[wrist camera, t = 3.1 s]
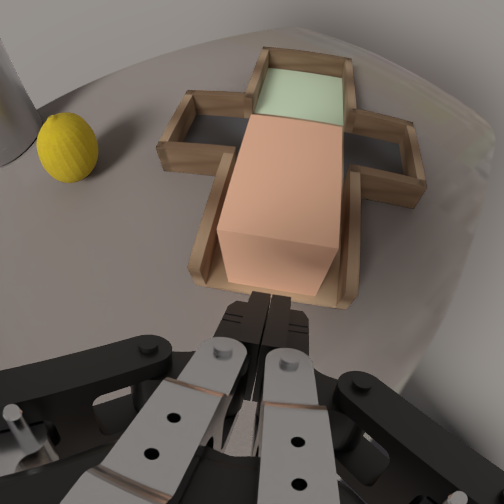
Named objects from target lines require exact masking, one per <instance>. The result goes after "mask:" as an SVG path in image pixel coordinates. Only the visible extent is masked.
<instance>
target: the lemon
mask: <svg viewBox="0 0 504 504" xmlns="http://www.w3.org/2000/svg"><path fill="white" fill-rule="evenodd" d="M37 151H38V155H39V158H40V161H41V163H42V165H43V167H44V168H45V170H46V171H47V172H48V173H49V174H50V175H51V176H52V177H53V178H55V179H56V180H59V181H61V182H64V183H73V182H78V181H80V180H82V179H84V178H85V177H86V176H88V175H89V174H90V173H91V171H92V170H93V168H94V167H95V165H96V162H97V159H98V143H97V140H96V137H95V134H94V132H93V130H92V129H91V127H90V126H89V125H88V124H87V123H86V121H85V120H84V119H82V118H81V117H80V116H78V115H76V114H74V113H59V114H56V115H51V116H49V117H48V118H47V121H46V122H45V123H44V124H43V126H42V127H41V129H40V131H39V134H38V137H37Z"/></svg>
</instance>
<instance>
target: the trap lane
mask: <svg viewBox="0 0 504 504" xmlns="http://www.w3.org/2000/svg"><path fill="white" fill-rule="evenodd" d="M268 68H274V69H283V70H292V71H300V72H307V73H314V74H320V75H326V76H332V77H338V78H342V92H343V126H342V125H337V124H331V123H326V122H320V121H314V120H307V119H300V118H293V117H286V116H278V115H270V114H261V113H254V112H255V109H256V106H257V102H258V99H259V96H260V93H261V90H262V86H263V83H264V80H265V77H266V74H267V71H268ZM251 114H253V115H262V116H271V117H279V118H287V119H294V120H301V121H308V122H314V123H321V124H326V125H332V126H338V127H342V185H341V213H340V233H339V249H338V251H337V253H336V255H335V257H334V259H333V261H332V264H331V266H330V268H329V270H328V272H327V274H326V276H325V278H324V280H323V282H322V284H321V286H320V288H319V290H318V292H317V294H316V296H311V295H304V294H298V293H292V292H285V291H279V290H273V289H267V288H261V287H255V286H249V285H243V284H237V283H232V282H228V278H227V274H226V269H225V265H224V261H223V256H222V252H221V247H220V243H219V238H218V234H217V226H218V223H219V219H220V215H221V212H222V208H223V205H224V201H225V198H226V195H227V191H228V188H229V184H230V181H231V177H232V174H233V171H234V167H235V164H236V161H237V157H238V154H239V151H240V148H241V144H242V141H243V138H244V135H245V131H246V128H247V125H248V122H249V119H250V116H251ZM156 150H157V153H158V156H159V158H160V161H161V164H162V167H163V170H164V171H171V172H182V173H192V174H202V175H211V176H215V179H214V182H213V185H212V189H211V192H210V195H209V198H208V201H207V204H206V207H205V210H204V213H203V217H202V220H201V223H200V226H199V229H198V233H197V236H196V239H195V243H194V246H193V249H192V253H191V256H190V259H189V263H188V266H187V268H188V270H189V272H190V274H191V276H192V278H193V280H194V282H195V285H199V286H204V287H210V288H215V289H221V290H226V291H232V292H238V293H243V294H249V295H251V293H252V291H257V292H263V293H269V294H271V298H272V295H273V294H275V295H282V296H288V297H291V302H298V303H304V304H311V305H317V306H324V307H331V308H338V309H345V310H346V309H347V308H348V306H349V305H350V304H351V303H352V302H353V301H354V299H355V298H356V297H357V296H358V286H359V266H360V233H361V198H363V199H369V200H374V201H379V202H384V203H389V204H393V205H398V206H403V207H407V208H412V209H414V207H415V206H416V204H417V203H418V201H419V200H420V198H421V197H422V195H423V194H424V192H425V190H426V189H427V185H426V180H425V174H424V169H423V164H422V159H421V154H420V150H419V145H418V141H417V137H416V133H415V129H414V125H413V122H410V121H406V120H402V119H399V118H395V117H391V116H387V115H382V114H378V113H374V112H369V111H365V110H360V109H357V108H356V96H355V86H354V77H353V68H352V60H351V59H350V58H345V57H340V56H334V55H328V54H322V53H316V52H309V51H301V50H293V49H284V48H274V47H263V49H262V51H261V53H260V56H259V58H258V61H257V63H256V66H255V69H254V71H253V74H252V76H251V79H250V81H249V84H248V87H247V89H246V92H245V93H240V92H225V91H202V90H187V92H186V94H185V95H184V97H183V99H182V101H181V102H180V104H179V106H178V107H177V109H176V111H175V113H174V115H173V116H172V118H171V120H170V122H169V124H168V125H167V127H166V129H165V131H164V133H163V135H162V137H161V138H160V140H159V142H158V144H157V146H156Z"/></svg>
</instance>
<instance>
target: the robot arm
mask: <svg viewBox="0 0 504 504" xmlns="http://www.w3.org/2000/svg"><path fill="white" fill-rule="evenodd" d="M41 127H42V119H41V117H40V116H39V114H38V112H37V110H36V109H35V107H34V105H33V103H32V101H31V99H30V97H29V96H28V94H27V92H26V90H25V88H24V86H23V84H22V82H21V80H20V78H19V76H18V74H17V72H16V70H15V68H14V66H13V64H12V62H11V60H10V58H9V56H8V54H7V52H6V50H5V48H4V45H3V43H2V41H1V39H0V166H3V165H5V164H7V163H9V162H11V161H13V160H14V159H15V158H17V157H18V156H19V155H21V154H22V153H23V152H24V151H25V150H26V149H27V148H28V147H29V146H30V145H31V144H32V142H33V141H34V140H35V138H36V137H37V136H38V134H39V131H40V129H41ZM270 298H271V294H269V293H263V292H257V291H252V293H251V296H250V298H249V301H248V303H247V302H241V301H235V302H234V303H232V304H230V305H229V306H228V307H227V310H226V312H225V314H224V316H223V318H222V320H221V322H220V324H219V326H218V328H217V330H216V332H215V334H214V336H213V338H209V339H207V340H205V341H203V342H202V343H201V345H200V346H199V347H198V349H197V350H196V351H192V352H172V346H171V344H170V343H169V341H167V340H166V339H164V338H162V337H160V336H156V335H141V336H137V337H133V338H129V339H126V340H122V341H119V342H115V343H111V344H108V345H104V346H100V347H96V348H93V349H89V350H85V351H81V352H77V353H73V354H69V355H65V356H61V357H57V358H53V359H49V360H45V361H41V362H37V363H32V364H28V365H24V366H19V367H15V368H10V369H6V370H1V371H0V504H365V503H364V502H363V501H362V500H361V499H360V498H359V497H358V496H357V495H356V494H355V493H354V492H353V491H352V490H351V489H350V488H348V487H347V486H346V485H344V484H343V483H341V482H340V481H338V480H337V474H338V475H339V476H340V477H341V478H342V479H343V480H344V481H345V482H346V483H347V484H348V485H349V486H350V487H351V488H352V489H353V490H354V491H355V492H356V493H357V494H358V495H359V496H360V497H361V498H362V499H363V500H364V501H366V502H367V503H368V504H504V471H503V470H501V469H500V468H499V467H497V466H496V465H494V464H493V463H491V462H490V461H489V460H487V459H486V458H484V457H483V456H482V455H480V454H479V453H477V452H476V451H474V450H473V449H472V448H470V447H469V446H467V445H466V444H465V443H464V442H462V441H461V440H459V439H458V438H457V437H455V436H454V435H453V434H451V433H450V432H448V431H447V430H446V429H444V428H443V427H442V426H440V425H439V424H437V423H436V422H435V421H433V420H432V419H431V418H429V417H428V416H426V415H425V414H424V413H423V412H421V411H420V410H419V409H417V408H416V407H415V406H413V405H412V404H410V403H409V402H408V401H407V400H405V399H404V398H403V397H401V396H400V395H399V394H397V393H396V392H395V391H393V390H392V389H391V388H389V387H388V386H387V385H385V384H384V383H383V382H381V381H380V380H379V379H377V378H376V377H374V376H373V375H371V374H368V373H365V372H361V371H350V372H346V373H344V374H342V375H341V376H340V377H339V379H338V380H337V379H334V378H331V377H328V376H326V375H323V374H321V373H320V372H318V371H317V370H316V369H314V367H313V362H312V360H311V358H310V357H309V335H308V334H309V328H308V327H309V319H308V318H307V316H306V315H305V314H304V312H303V311H297V310H290V306H291V297H288V296H282V295H275V294H273V295H272V299H271V304H270ZM269 305H270V308H269ZM268 311H269V313H268ZM256 373H257V375H256ZM255 377H256V381H255ZM254 382H255V387H254V393H253V399H252V401H255V402H258V403H257V408H256V414H255V419H254V427H253V437H252V447H251V456H248V457H234V456H229V455H226V454H224V451H225V449H226V446H227V444H228V441H229V439H230V436H231V434H232V431H233V429H234V426H235V424H236V421H237V418H238V414H239V410H240V409H241V407H242V403H243V400H249V401H250V399H251V395H252V390H253V386H254ZM128 386H130V387H131V393H132V394H129V395H126V396H123V397H120V398H117V399H114V400H111V401H108V402H105V403H101V404H98V405H95V406H92V405H93V402H94V400H95V399H96V398H97V397H99V396H101V395H104V394H107V393H110V392H113V391H116V390H119V389H122V388H125V387H128ZM365 432H366V433H367V434H368V435H369V436H370V437H372V438H373V439H374V440H375V441H376V442H377V443H379V444H380V445H381V446H382V447H383V448H384V449H385V450H386V451H387V452H388V454H389V457H390V459H388V458H387V457H386V456H385V455H384V454H382V453H381V452H380V451H379V450H378V449H377V448H376V447H375V446H374V445H372V444H371V443H370V442H369V441H368V440H367V439H366V438H365V437H363V435H364V433H365ZM336 473H337V474H336Z"/></svg>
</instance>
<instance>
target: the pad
mask: <svg viewBox="0 0 504 504" xmlns="http://www.w3.org/2000/svg"><path fill="white" fill-rule="evenodd" d="M254 113H261V114H270V115H278V116H286V117H293V118H300V119H307V120H314V121H320V122H326V123H331V124H337V125H342V126H343V92H342V78H338V77H332V76H326V75H320V74H314V73H307V72H300V71H292V70H283V69H274V68H268V71H267V74H266V77H265V80H264V83H263V86H262V90H261V93H260V96H259V99H258V102H257V106H256V109H255V112H254Z"/></svg>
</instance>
